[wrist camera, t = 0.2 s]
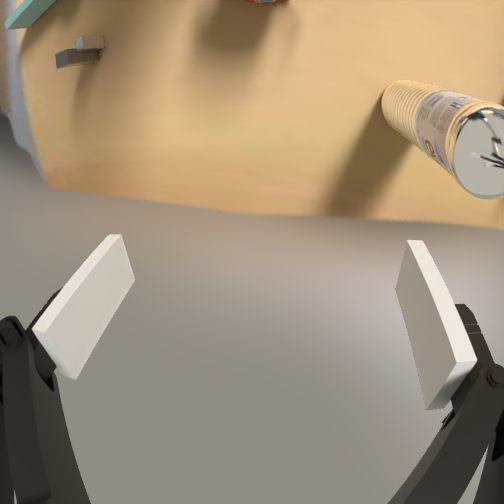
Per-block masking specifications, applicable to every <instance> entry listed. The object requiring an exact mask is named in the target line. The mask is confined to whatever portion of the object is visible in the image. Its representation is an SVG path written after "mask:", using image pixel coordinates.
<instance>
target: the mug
mask: <svg viewBox="0 0 504 504" xmlns="http://www.w3.org/2000/svg"><path fill="white" fill-rule="evenodd" d="M248 1H252V2H257V3H270V2H275V1H278V0H248Z"/></svg>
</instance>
